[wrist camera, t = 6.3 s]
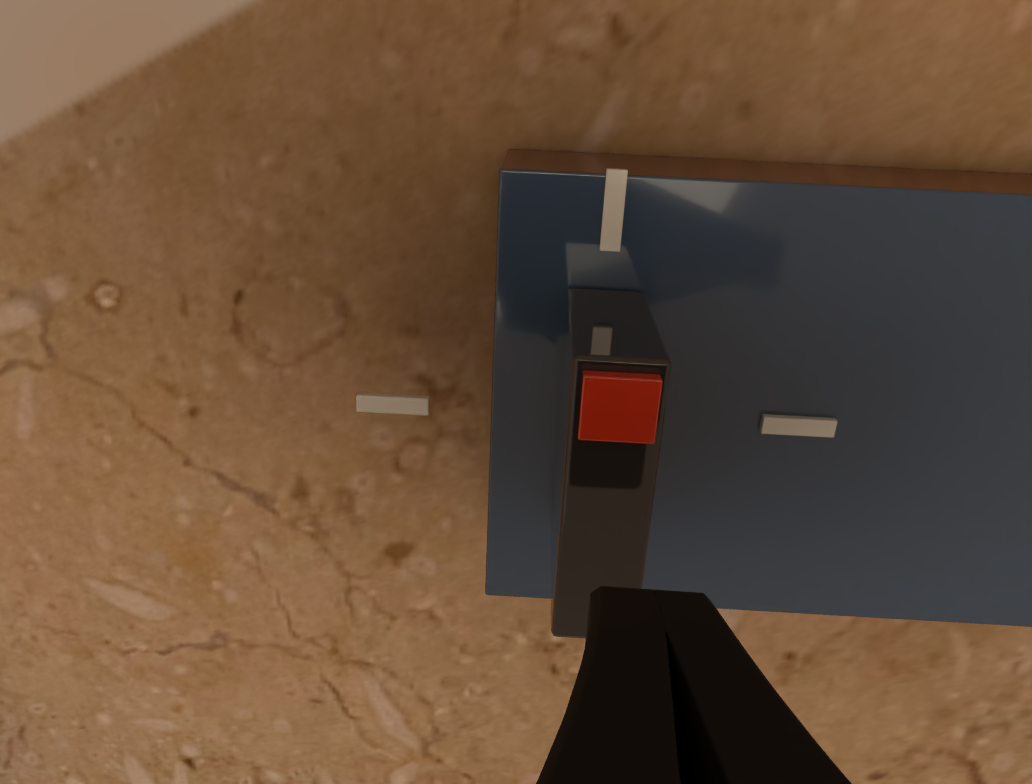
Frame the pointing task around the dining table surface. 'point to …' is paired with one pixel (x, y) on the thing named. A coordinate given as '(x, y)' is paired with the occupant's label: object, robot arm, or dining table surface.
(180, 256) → the dining table surface
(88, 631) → the dining table surface
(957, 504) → the panel
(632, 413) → the tap handle
